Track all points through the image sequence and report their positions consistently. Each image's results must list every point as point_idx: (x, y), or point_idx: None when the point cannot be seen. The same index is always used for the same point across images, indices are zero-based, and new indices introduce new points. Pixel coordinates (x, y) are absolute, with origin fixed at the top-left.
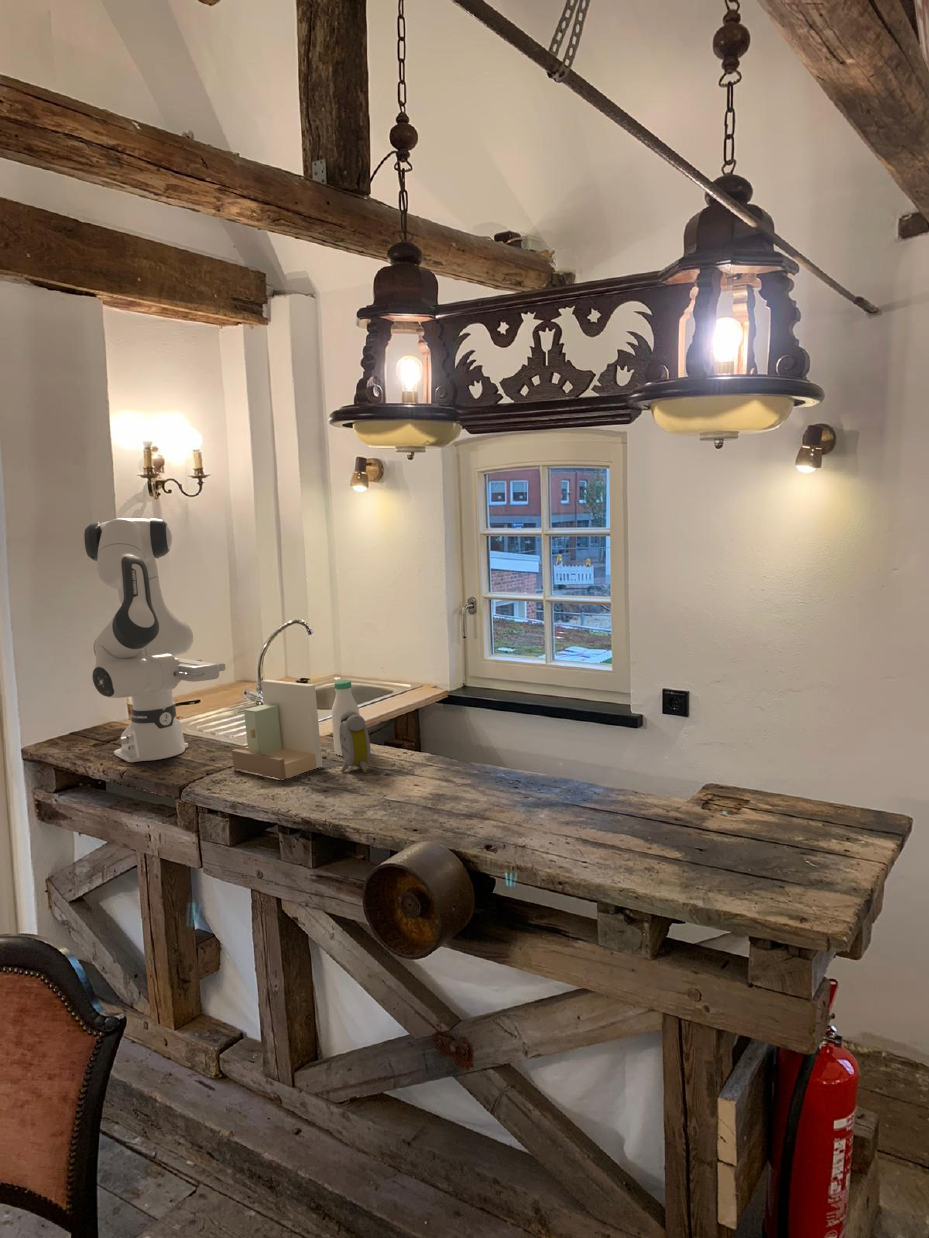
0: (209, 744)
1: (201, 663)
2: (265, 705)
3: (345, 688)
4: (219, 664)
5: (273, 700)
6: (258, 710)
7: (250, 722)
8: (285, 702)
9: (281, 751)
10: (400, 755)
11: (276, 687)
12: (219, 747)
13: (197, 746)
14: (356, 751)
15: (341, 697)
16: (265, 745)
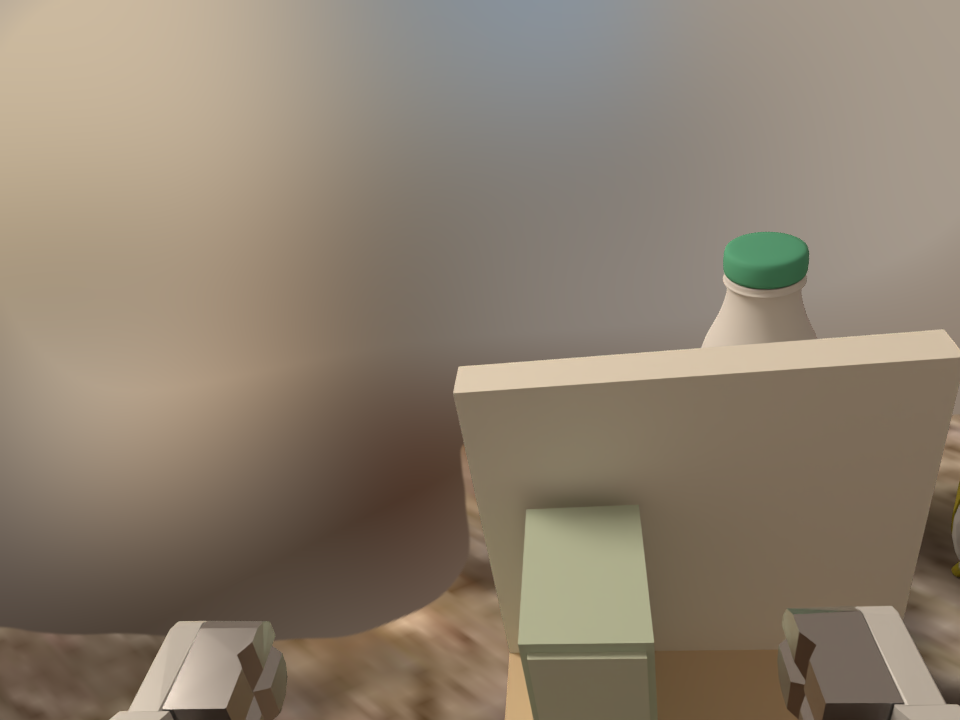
0: (59, 668)
1: None
2: (559, 528)
3: (805, 274)
4: (943, 701)
5: (571, 476)
6: (648, 621)
7: (594, 700)
8: (688, 472)
9: (683, 692)
10: (956, 445)
11: (607, 408)
12: (137, 677)
13: (11, 713)
14: None
15: (790, 320)
16: None
